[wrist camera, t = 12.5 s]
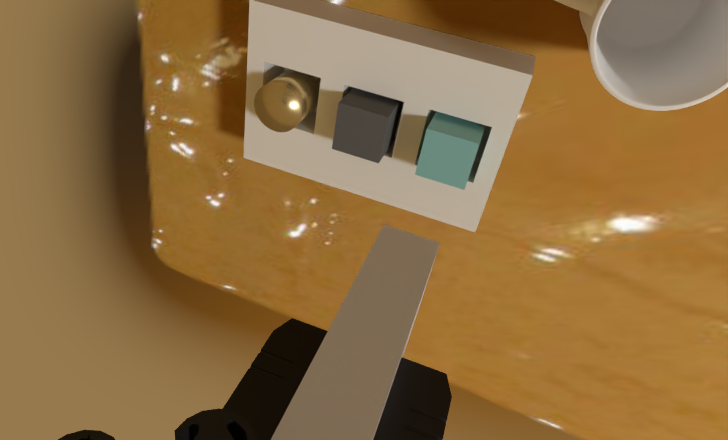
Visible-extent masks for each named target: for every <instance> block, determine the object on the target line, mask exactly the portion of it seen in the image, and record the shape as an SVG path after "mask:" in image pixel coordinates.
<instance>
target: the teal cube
mask: <svg viewBox="0 0 728 440" xmlns="http://www.w3.org/2000/svg"><path fill="white" fill-rule="evenodd" d="M485 126H486V125H482V124H479V123H475V122H472V121H468V120H465V119H462V118H458V117H455V116H451V115H448V114H444V113H441V112H437V111H436V113H435V115H434V117H433V118H432V120H431V122H430V124H429V126H428V127H427V130H426V134H425V138H424V141H423V145H422V149H421V153H420V157H419V161H418V164H417V168H416V172H415V175H418V176H421V177H424V178H427V179H431V180H434V181H437V182H440V183H443V184H447V185H450V186H453V187H456V188H460V189H463V190H465V187H466V184H467V181H468V178H469V175H470V172H471V169H472V166H473V163H474V160H475V157H476V154H477V151H478V148H479V145H480V141H481V138H482V135H483V132H484V129H485Z"/></svg>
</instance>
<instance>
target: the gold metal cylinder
mask: <svg viewBox="0 0 728 440" xmlns="http://www.w3.org/2000/svg"><path fill="white" fill-rule="evenodd" d="M319 89H320V85H319V83H318V81H317V80H316V78H315V77H314V76H312V75H309V74H305V73H302V72H298V71H295V70H291V69H288V70H286V71H285V72H283V73H282V74H280V75H279V76H277V77H276V78H274V79H273V80H271V81H270V82H268V83H267V84H265V85H264V86H263V87H261V88H260V89H259V90H258V91H257V93H256V95H255V98H254V108H255V112H256V114H257V116H258V118H259V120H260V121H261V122H262V123H263V124H264V125H265V126H266V127H267V128H269V129H271V130H273V131H276V132H287V131H290V130H292V129H293V128H294V127H295V126H297V125H298V124H299V123H300V122H301V121H302V120H303V119H304V118H305V117H307V116H308V115H309V114H310V113H311V112H312V111H313V110H314V109H315V108H316V107H317V105H318V97H319Z"/></svg>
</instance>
